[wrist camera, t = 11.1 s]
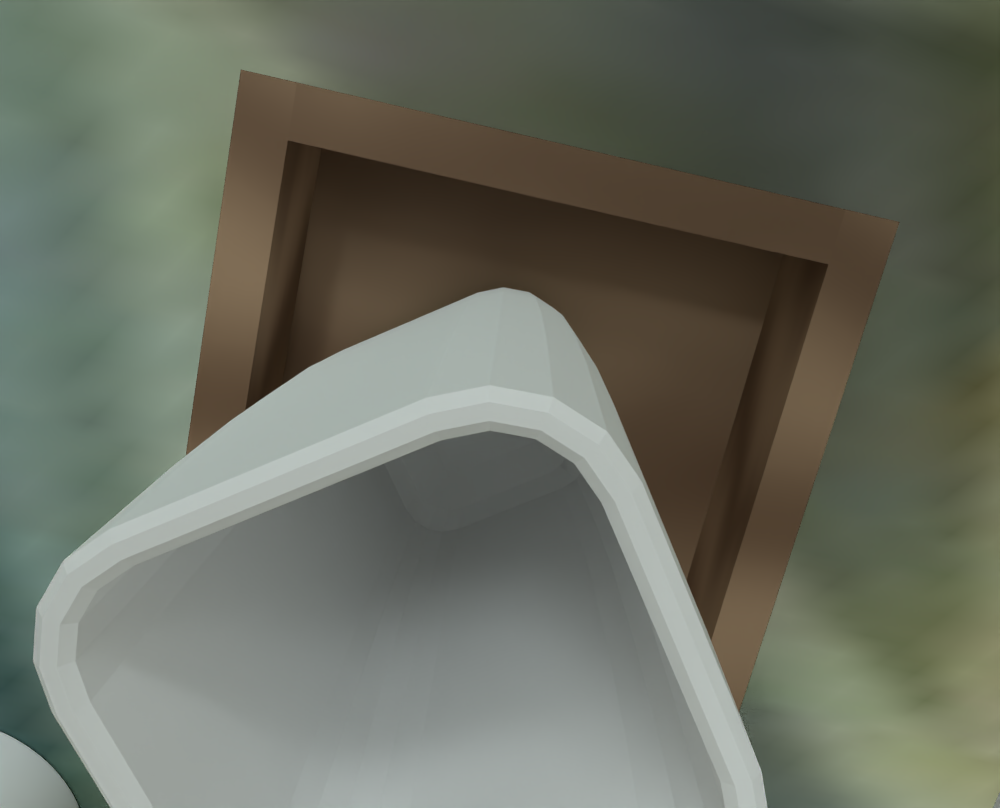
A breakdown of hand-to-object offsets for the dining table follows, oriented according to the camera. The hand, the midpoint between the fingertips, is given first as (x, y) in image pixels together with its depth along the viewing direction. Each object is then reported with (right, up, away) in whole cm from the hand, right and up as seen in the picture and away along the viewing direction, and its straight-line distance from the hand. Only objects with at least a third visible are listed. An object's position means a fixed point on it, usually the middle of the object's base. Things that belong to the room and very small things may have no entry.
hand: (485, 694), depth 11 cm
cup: (-1, +3, +14) cm, 14 cm away
